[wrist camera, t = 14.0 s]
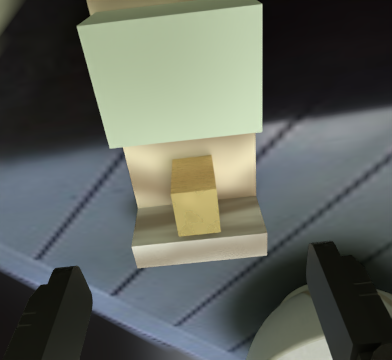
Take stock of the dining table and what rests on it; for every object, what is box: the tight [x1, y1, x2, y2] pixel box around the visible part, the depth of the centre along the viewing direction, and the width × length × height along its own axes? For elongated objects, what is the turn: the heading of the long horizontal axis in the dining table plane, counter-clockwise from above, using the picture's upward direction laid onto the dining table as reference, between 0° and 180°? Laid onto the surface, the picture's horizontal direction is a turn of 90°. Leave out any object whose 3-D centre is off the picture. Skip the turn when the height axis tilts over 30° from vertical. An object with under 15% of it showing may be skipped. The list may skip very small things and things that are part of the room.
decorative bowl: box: [246, 285, 392, 360], centre depth 47 cm, size 27×27×12 cm
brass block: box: [171, 155, 221, 237], centre depth 34 cm, size 5×4×6 cm
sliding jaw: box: [77, 0, 262, 149], centre depth 27 cm, size 9×12×6 cm
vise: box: [87, 0, 267, 268], centre depth 32 cm, size 24×13×8 cm, turn 6°
